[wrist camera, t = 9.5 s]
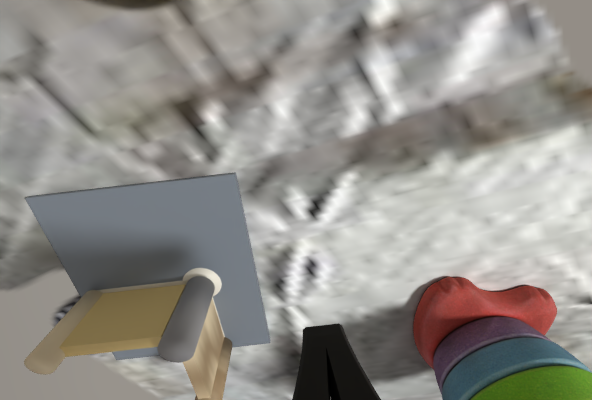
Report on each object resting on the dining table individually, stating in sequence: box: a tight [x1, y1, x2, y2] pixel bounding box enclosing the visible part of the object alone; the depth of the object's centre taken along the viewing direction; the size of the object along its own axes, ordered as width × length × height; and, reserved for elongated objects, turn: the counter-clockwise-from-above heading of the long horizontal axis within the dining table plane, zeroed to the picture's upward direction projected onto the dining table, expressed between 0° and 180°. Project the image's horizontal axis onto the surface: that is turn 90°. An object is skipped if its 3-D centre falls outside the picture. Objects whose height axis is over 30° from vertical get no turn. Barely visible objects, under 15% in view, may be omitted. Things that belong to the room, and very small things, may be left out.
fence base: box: [183, 299, 232, 400], centre depth 19 cm, size 6×2×5 cm, turn 6°
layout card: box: [25, 173, 270, 360], centre depth 20 cm, size 15×13×1 cm
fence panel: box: [24, 276, 215, 375], centre depth 18 cm, size 9×2×5 cm, turn 96°
